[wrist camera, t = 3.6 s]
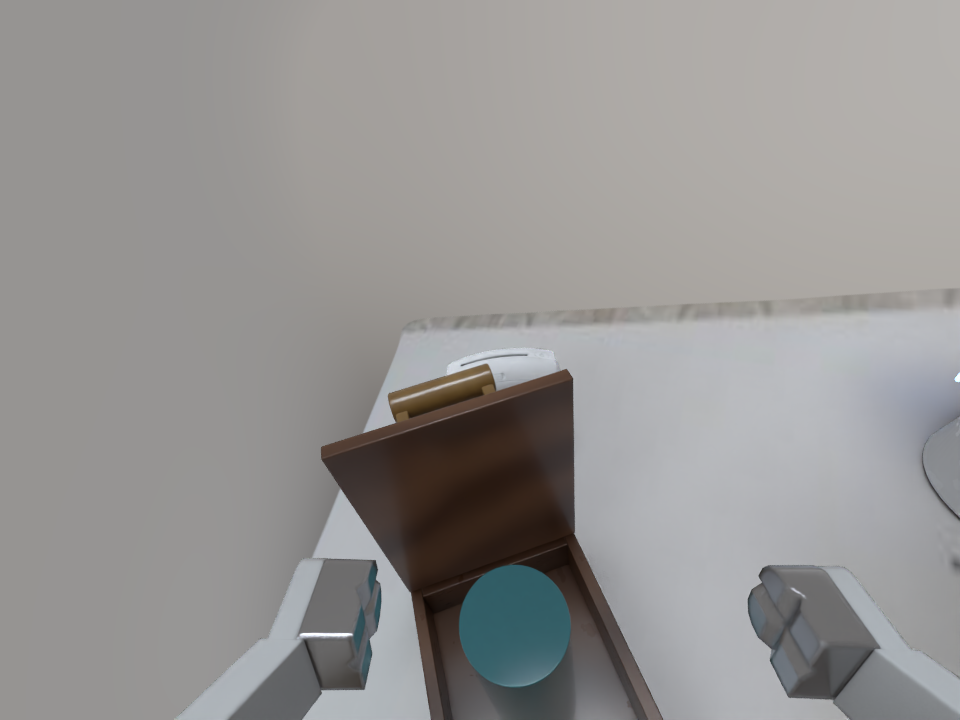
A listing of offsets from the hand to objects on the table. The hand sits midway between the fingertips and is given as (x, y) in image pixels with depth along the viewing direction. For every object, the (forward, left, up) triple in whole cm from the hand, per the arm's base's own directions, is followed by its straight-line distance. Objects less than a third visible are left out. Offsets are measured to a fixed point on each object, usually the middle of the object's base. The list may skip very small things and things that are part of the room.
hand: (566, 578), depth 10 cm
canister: (+3, -3, -26) cm, 26 cm away
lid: (+7, -9, -14) cm, 18 cm away
